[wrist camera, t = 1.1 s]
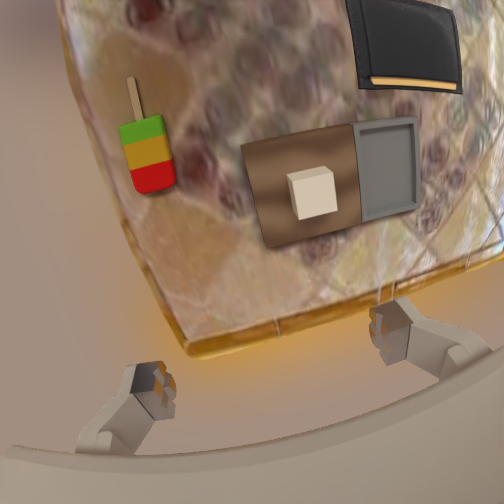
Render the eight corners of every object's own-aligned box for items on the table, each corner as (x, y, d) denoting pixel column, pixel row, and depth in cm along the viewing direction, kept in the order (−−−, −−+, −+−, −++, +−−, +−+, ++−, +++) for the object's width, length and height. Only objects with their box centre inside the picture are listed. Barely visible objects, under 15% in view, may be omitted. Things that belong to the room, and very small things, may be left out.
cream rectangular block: (286, 174, 37) (292, 181, 34) (324, 165, 37) (332, 172, 34) (293, 210, 39) (299, 220, 37) (329, 201, 39) (337, 210, 37)
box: (347, 123, 36) (352, 125, 35) (411, 115, 36) (417, 117, 34) (358, 217, 43) (362, 222, 42) (414, 203, 43) (420, 207, 42)
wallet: (459, 10, 26) (467, 99, 33) (452, 11, 27) (460, 97, 35) (346, -17, 25) (359, 89, 33) (340, -14, 26) (353, 88, 34)
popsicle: (139, 192, 38) (136, 197, 36) (111, 84, 30) (106, 84, 29) (179, 182, 38) (177, 187, 36) (153, 70, 30) (150, 69, 29)
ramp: (240, 145, 36) (241, 148, 34) (345, 123, 36) (352, 125, 34) (264, 241, 43) (266, 248, 42) (356, 218, 43) (361, 223, 41)
